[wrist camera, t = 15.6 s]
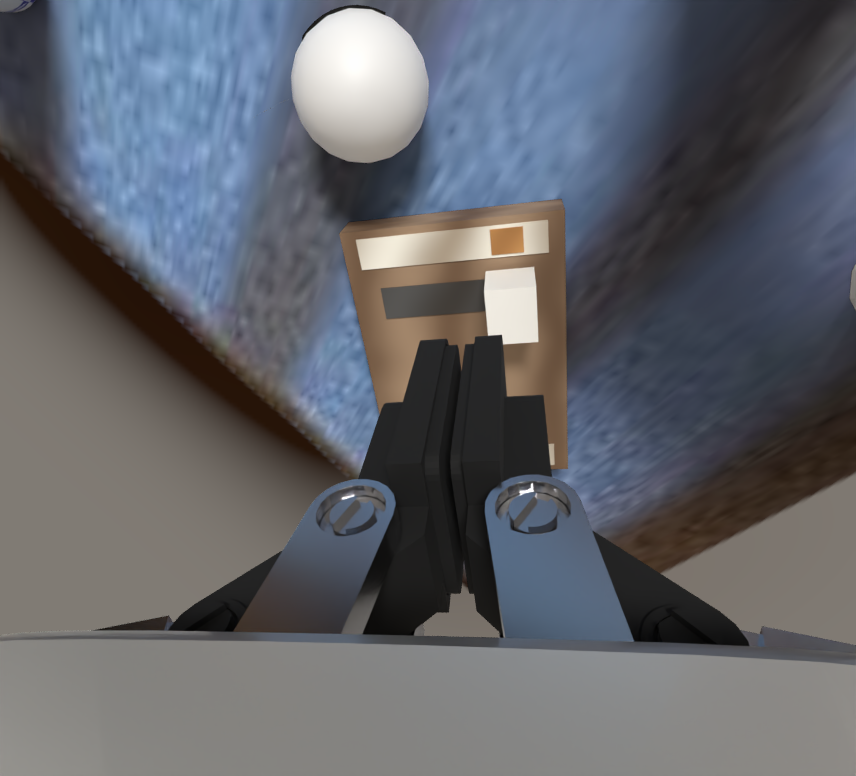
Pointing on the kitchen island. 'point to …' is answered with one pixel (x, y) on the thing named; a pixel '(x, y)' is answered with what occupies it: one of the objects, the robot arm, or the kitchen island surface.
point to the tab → (512, 304)
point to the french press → (853, 287)
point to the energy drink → (15, 5)
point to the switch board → (461, 295)
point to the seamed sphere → (359, 84)
